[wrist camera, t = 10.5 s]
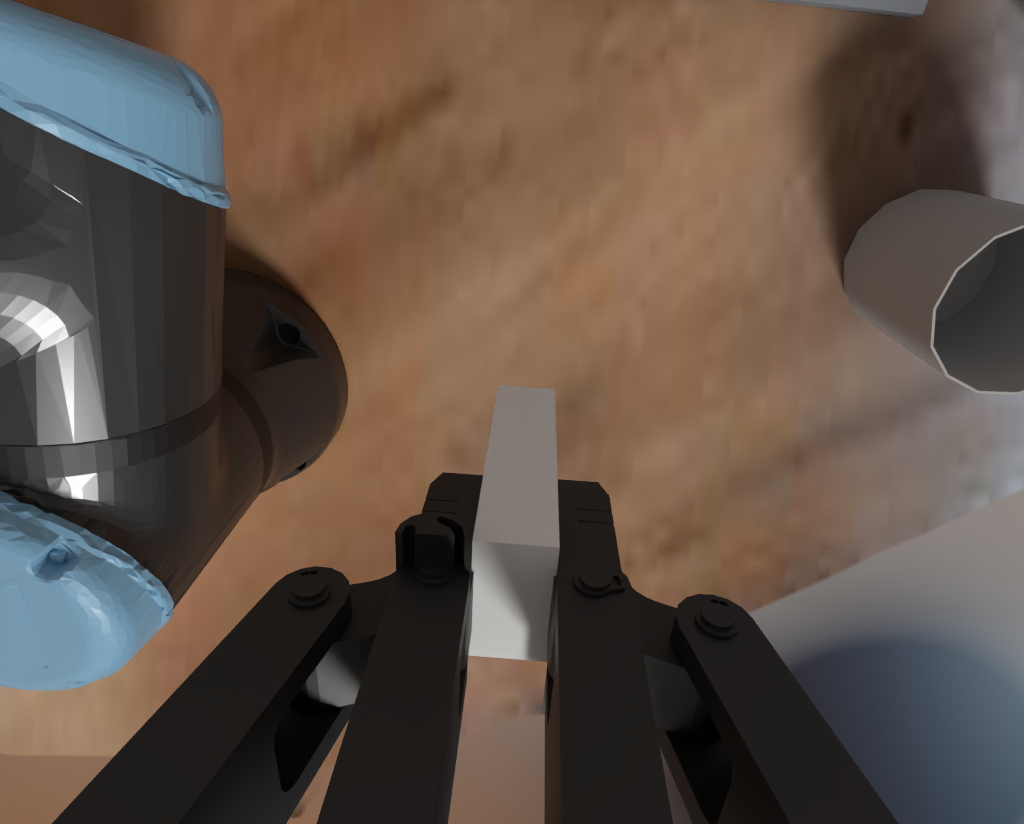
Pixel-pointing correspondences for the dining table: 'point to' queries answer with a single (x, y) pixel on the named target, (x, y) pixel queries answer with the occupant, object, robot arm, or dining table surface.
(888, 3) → the console
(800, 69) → the dining table surface
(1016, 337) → the cup
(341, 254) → the dining table surface
